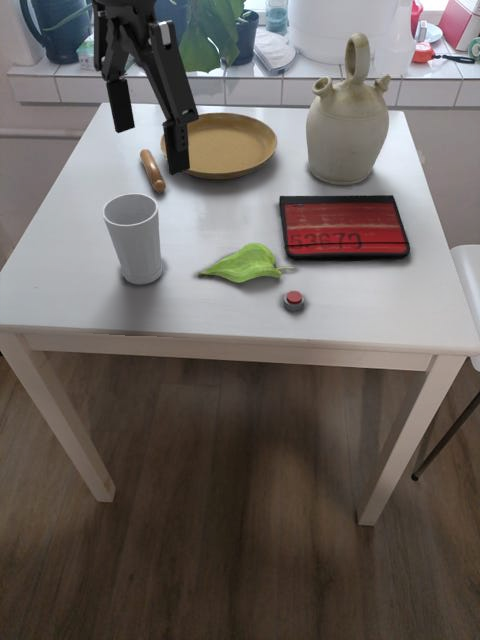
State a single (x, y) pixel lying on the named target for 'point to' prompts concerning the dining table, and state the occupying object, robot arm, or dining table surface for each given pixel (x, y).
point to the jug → (347, 120)
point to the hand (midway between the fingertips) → (151, 149)
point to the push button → (293, 300)
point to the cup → (135, 236)
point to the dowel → (152, 170)
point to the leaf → (246, 264)
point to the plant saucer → (227, 145)
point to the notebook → (342, 228)
